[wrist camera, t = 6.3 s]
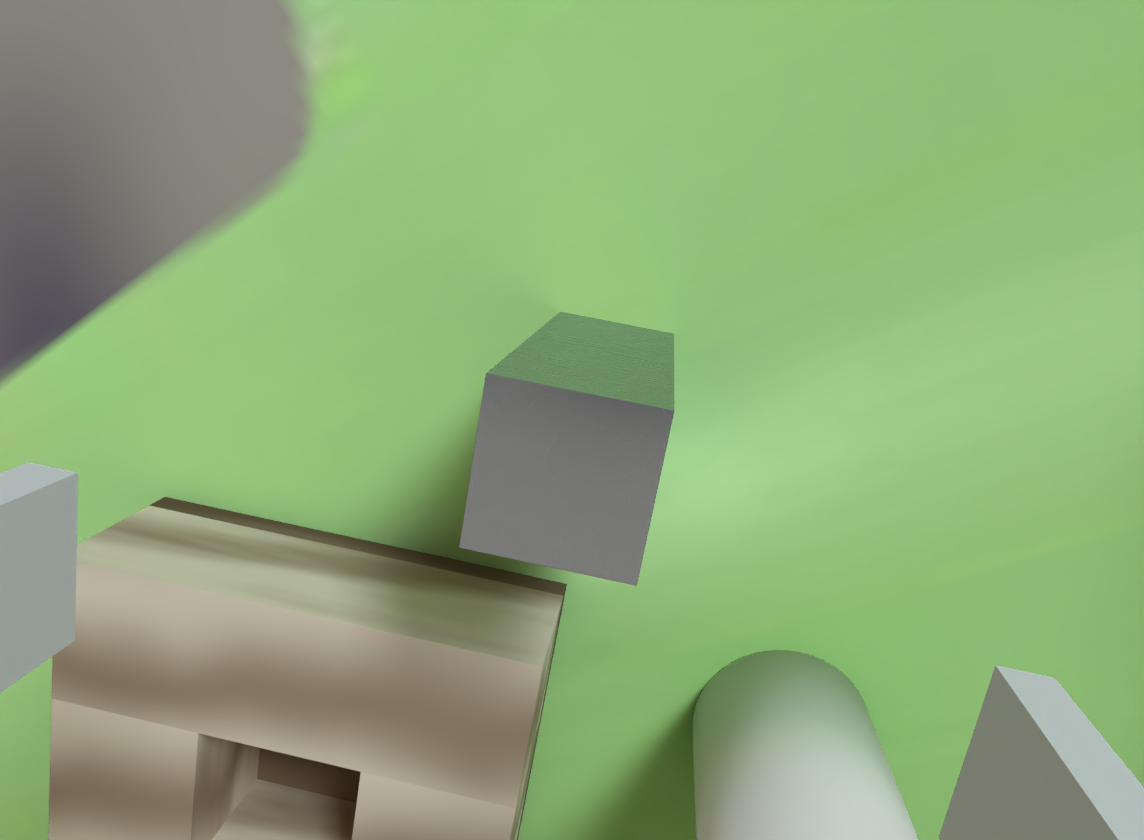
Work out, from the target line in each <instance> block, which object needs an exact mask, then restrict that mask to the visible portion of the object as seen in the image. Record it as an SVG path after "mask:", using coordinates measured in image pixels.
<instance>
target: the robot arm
mask: <svg viewBox="0 0 1144 840" xmlns="http://www.w3.org/2000/svg"><path fill="white" fill-rule="evenodd" d="M77 501H78V472H73V471H68V470H63V469H59V468H54V467H49V466H44V465H40V464H35V463H30V462H29V463H26V464H24V465H21V466H18V467H16V468H13V469H10V470H8V471H5V472H2V473H0V692H2V691H3V690H5V689H6V688H8V687H9V686H10V685H12V684H13V683H15V682H16V681H18V680H19V679H20V678H22V677H23V676H25V675H26V674H28V673H29V672H31V671H32V670H33V669H35V668H36V667H38V666H39V665H41V664H42V663H43V662H45V661H46V660H48V659H49V658H51V657H52V656H53V655H55V654H56V653H58V652H59V651H61V650H62V649H63V648H65V647H66V646H68V645H69V644H71V643H72V642H73V641H75V612H76V556H77ZM939 839H940V840H1144V787H1143V786H1142V785H1141V784H1140V782H1139V781H1138V780H1137V779H1136V777H1135V776H1134V775H1133V774H1132V772H1131V771H1130V770H1129V769H1128V768H1127V766H1126V765H1125V764H1124V763H1123V761H1122V760H1121V759H1120V758H1119V756H1118V755H1117V754H1116V753H1115V752H1114V750H1113V749H1112V748H1111V747H1110V745H1109V744H1108V743H1107V742H1106V740H1105V739H1104V738H1103V737H1102V736H1101V734H1100V733H1099V732H1098V731H1097V729H1096V728H1095V727H1094V726H1093V724H1092V723H1091V722H1090V721H1089V720H1088V718H1087V717H1086V716H1085V715H1084V713H1083V712H1082V711H1081V710H1080V708H1079V707H1078V706H1077V705H1076V704H1075V702H1074V701H1073V700H1072V699H1071V697H1070V696H1069V695H1068V694H1067V692H1066V691H1065V690H1064V689H1063V688H1062V686H1061V685H1060V684H1059V683H1058V681H1057V680H1056V679H1055V678H1053V677H1048V676H1044V675H1039V674H1034V673H1029V672H1025V671H1020V670H1015V669H1010V668H1006V667H1001V666H995V669H994V672H993V675H992V678H991V681H990V684H989V687H988V690H987V693H986V696H985V699H984V702H983V705H982V708H981V711H980V714H979V717H978V720H977V723H976V726H975V729H974V732H973V735H972V738H971V741H970V744H969V747H968V750H967V753H966V756H965V759H964V762H963V765H962V768H961V771H960V774H959V777H958V780H957V783H956V786H955V789H954V793H953V796H952V799H951V802H950V805H949V808H948V811H947V814H946V817H945V820H944V823H943V826H942V829H941V832H940V835H939Z"/></svg>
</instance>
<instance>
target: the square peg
mask: <svg viewBox="0 0 1144 840" xmlns="http://www.w3.org/2000/svg"><path fill="white" fill-rule="evenodd" d="M673 414H674V334H672V333H667V332H661V331H656V330H651V329H646V328H641V327H636V326H630V325H625V324H620V323H615V322H610V321H605V320H599V319H594V318H589V317H584V316H579V315H574V314H568V313H563V312H560V313H559V314H557V315H556V316H555V317H554V318H552V319H551V320H550V321H549V322H548V323H546V324H545V325H544V326H543V327H542V328H540V329H539V330H538V331H537V332H535V333H534V334H533V335H532V336H531V337H529V338H528V339H527V340H526V341H525V342H523V343H522V344H521V345H520V346H518V347H517V348H516V349H515V350H514V351H512V352H511V353H510V354H509V355H507V356H506V357H505V358H504V359H503V360H501V361H500V362H499V363H498V364H497V365H495V366H494V367H493V368H492V369H490V370H489V371H488V372H487V373H486V377H485V384H484V390H483V397H482V403H481V410H480V416H479V423H478V429H477V436H476V442H475V449H474V455H473V461H472V468H471V474H470V481H469V487H468V494H467V500H466V507H465V513H464V520H463V526H462V533H461V539H460V546H459V548H464V549H468V550H473V551H478V552H482V553H487V554H492V555H496V556H501V557H505V558H510V559H515V560H519V561H524V562H529V563H533V564H538V565H543V566H547V567H552V568H556V569H561V570H566V571H570V572H575V573H580V574H584V575H589V576H594V577H598V578H603V579H607V580H612V581H617V582H621V583H626V584H631V585H635V586H637V582H638V577H639V573H640V568H641V563H642V559H643V554H644V549H645V545H646V540H647V535H648V531H649V526H650V521H651V517H652V512H653V507H654V503H655V498H656V494H657V489H658V484H659V480H660V475H661V470H662V466H663V461H664V456H665V452H666V447H667V442H668V438H669V433H670V428H671V424H672V419H673Z"/></svg>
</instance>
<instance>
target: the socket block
mask: <svg viewBox="0 0 1144 840" xmlns="http://www.w3.org/2000/svg"><path fill="white" fill-rule="evenodd" d="M566 585H567V584H563V583H559V582H554V581H549V580H545V579H540V578H536V577H531V576H526V575H522V574H517V573H513V572H508V571H503V570H499V569H494V568H489V567H485V566H480V565H476V564H471V563H466V562H462V561H457V560H453V559H448V558H443V557H439V556H434V555H430V554H425V553H420V552H416V551H411V550H406V549H402V548H397V547H393V546H388V545H383V544H379V543H374V542H370V541H365V540H360V539H356V538H351V537H347V536H342V535H337V534H333V533H328V532H324V531H319V530H314V529H310V528H305V527H300V526H296V525H291V524H287V523H282V522H277V521H273V520H268V519H264V518H259V517H254V516H250V515H245V514H241V513H236V512H231V511H227V510H222V509H218V508H213V507H208V506H204V505H199V504H194V503H190V502H185V501H181V500H176V499H171V498H167V497H164V498H162V499H160V500H159V501H157V502H155V503H153V504H151V505H149V506H148V507H146V508H144V509H142V510H140V511H138V512H137V513H135V514H133V515H131V516H129V517H128V518H126V519H124V520H122V521H120V522H118V523H117V524H115V525H113V526H111V527H109V528H107V529H106V530H104V531H102V532H100V533H98V534H96V535H95V536H93V537H91V538H89V539H87V540H85V541H84V542H82V543H80V544H78V545H77V556H76V612H75V641H73V642H72V643H71V644H69V645H68V646H66V647H65V648H63V649H62V650H61V651H59V652H58V653H56V654H55V655H53V668H52V711H51V754H50V797H49V840H518V835H519V830H520V825H521V820H522V815H523V809H524V804H525V799H526V794H527V789H528V783H529V778H530V773H531V768H532V762H533V757H534V752H535V747H536V742H537V736H538V731H539V726H540V721H541V716H542V710H543V705H544V700H545V695H546V689H547V684H548V679H549V674H550V669H551V663H552V658H553V653H554V648H555V643H556V637H557V632H558V627H559V622H560V616H561V611H562V606H563V601H564V596H565V590H566Z"/></svg>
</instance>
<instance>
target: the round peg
mask: <svg viewBox="0 0 1144 840" xmlns="http://www.w3.org/2000/svg"><path fill="white" fill-rule="evenodd" d="M692 735H693V762H694V789H695V816H696V840H918V837H917V835H916V832H915V830H914V827H913V825H912V822H911V819H910V817H909V814H908V812H907V809H906V807H905V804H904V802H903V799H902V797H901V794H900V792H899V789H898V787H897V784H896V781H895V779H894V776H893V774H892V771H891V769H890V766H889V764H888V761H887V759H886V756H885V754H884V751H883V749H882V746H881V743H880V741H879V738H878V736H877V733H876V731H875V728H874V726H873V723H872V721H871V718H870V716H869V713H868V711H867V708H866V705H865V703H864V701H863V698H862V696H861V695H860V693H859V691H858V690H857V688H856V687H855V686H854V684H853V683H852V682H851V681H850V680H849V679H848V678H847V677H846V676H845V675H844V674H843V673H842V672H841V671H839V670H838V669H837V668H835V667H834V666H833V665H831V664H829V663H827V662H826V661H824V660H822V659H819V658H817V657H814V656H812V655H808V654H805V653H801V652H795V651H786V650H773V651H763V652H758V653H753V654H750V655H747V656H744V657H742V658H740V659H737V660H735V661H733V662H731V663H730V664H728V665H727V666H725V667H724V668H722V669H721V670H720V671H719V672H717V673H716V674H715V675H714V676H713V677H712V678H711V679H710V680H709V682H708V683H707V684H706V686H705V687H704V689H703V690H702V692H701V694H700V696H699V698H698V700H697V702H696V706H695V709H694V714H693V720H692Z"/></svg>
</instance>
